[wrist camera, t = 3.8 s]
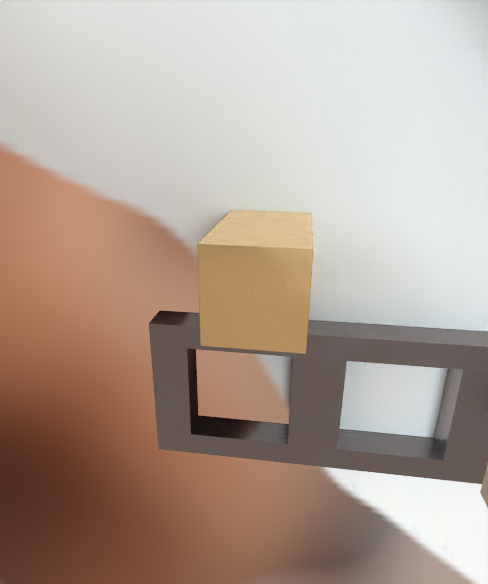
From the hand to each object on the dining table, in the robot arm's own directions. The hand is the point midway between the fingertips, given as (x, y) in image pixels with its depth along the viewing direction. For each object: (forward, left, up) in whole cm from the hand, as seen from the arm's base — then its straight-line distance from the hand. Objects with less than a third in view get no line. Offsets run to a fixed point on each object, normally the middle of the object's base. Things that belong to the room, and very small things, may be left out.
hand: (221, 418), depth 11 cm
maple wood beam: (0, 0, -15) cm, 15 cm away
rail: (+8, -9, -15) cm, 19 cm away
